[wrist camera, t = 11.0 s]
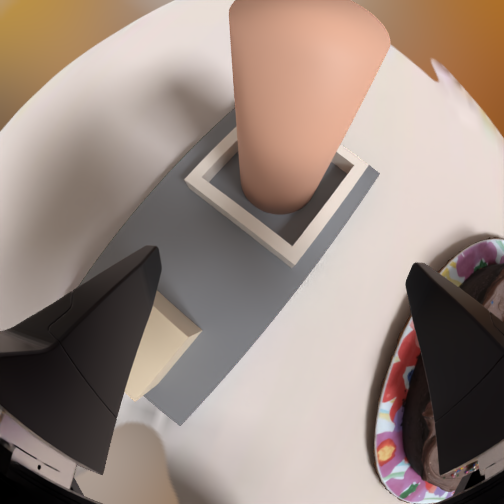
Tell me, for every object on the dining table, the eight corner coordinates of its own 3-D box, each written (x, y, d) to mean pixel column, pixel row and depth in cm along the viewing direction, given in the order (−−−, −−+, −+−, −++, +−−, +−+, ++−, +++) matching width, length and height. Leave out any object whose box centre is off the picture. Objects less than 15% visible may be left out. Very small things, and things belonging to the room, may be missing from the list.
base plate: (372, 181, 21) (402, 148, 15) (185, 418, 18) (163, 451, 12) (254, 101, 22) (255, 56, 17) (73, 310, 19) (29, 308, 14)
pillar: (315, 217, 19) (408, 81, 6) (237, 212, 19) (217, 53, 6) (314, 150, 20) (371, 0, 7) (243, 145, 20) (237, -18, 7)
